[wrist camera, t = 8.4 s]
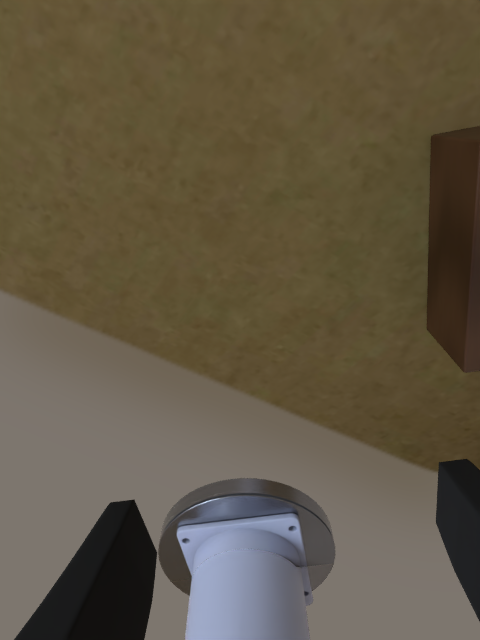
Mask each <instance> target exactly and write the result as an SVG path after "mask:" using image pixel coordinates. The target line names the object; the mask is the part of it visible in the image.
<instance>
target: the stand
mask: <svg viewBox="0 0 480 640" xmlns="http://www.w3.org/2000/svg"><path fill="white" fill-rule="evenodd" d="M427 330H428V331H429V332H430V334H431V335H432V336H433V337H434V338H435V339H436V341H437V342H438V343H439V344H440V345H441V346H442V347H443V349H444V350H445V351H446V352H447V353H448V354H449V356H450V357H451V358H452V359H453V360H454V361H455V363H456V364H457V365H458V366H459V367H460V368H461V370H462V371H463V372H466V373H467V372H474V371H480V126H477V127H472V128H466V129H461V130H456V131H451V132H445V133H440V134H435V135H433V136H432V137H431V164H430V209H429V254H428V299H427Z"/></svg>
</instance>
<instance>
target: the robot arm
mask: <svg viewBox="0 0 480 640" xmlns="http://www.w3.org/2000/svg"><path fill="white" fill-rule="evenodd" d="M436 524H437V526H438V528H439V532H440V534H441V537H442V540H443V542H444V545H445V548H446V550H447V553H448V555H449V558H450V560H451V563H452V566H453V568H454V571H455V573H456V575H457V577H458V579H459V581H460V583H461V585H462V587H463V589H464V591H465V593H466V595H467V597H468V599H469V601H470V603H471V605H472V607H473V609H474V611H475V613H476V615H477V617H478V619H479V621H480V470H479V469H478V468H477V467H476V466H475V465H474V464H473V463H472V462H470V461H469V460H467V459H463V460H455V461H446V462H439V472H438V491H437V511H436ZM177 538H178V541H179V543H180V546H181V549H182V551H183V554H184V557H185V559H186V562H187V565H188V567H189V570H190V573H191V575H192V581H191V590H190V599H189V608H188V617H187V626H186V635H185V640H310V635H309V627H308V619H307V612H306V606H307V605H310V604H312V603H313V596H312V590H311V585H310V579H309V573H308V567H307V561H306V555H305V550H304V544H303V538H302V532H301V526H300V521H299V517H298V515H296V514H294V513H288V514H279V515H271V516H262V517H254V518H245V519H237V520H228V521H220V522H211V523H203V524H194V525H186V526H181V527H179V528H178V530H177ZM156 557H157V552H156V549H155V547H154V545H153V542H152V540H151V538H150V535H149V533H148V531H147V528H146V526H145V524H144V521H143V519H142V517H141V514H140V512H139V510H138V507H137V505H136V503H135V500H128V501H120V502H111V503H110V504H109V505H108V506H107V508H106V509H105V511H104V512H103V514H102V515H101V517H100V518H99V519H98V521H97V522H96V524H95V525H94V527H93V529H92V530H91V532H90V533H89V535H88V536H87V538H86V539H85V541H84V542H83V544H82V545H81V547H80V548H79V550H78V551H77V553H76V554H75V556H74V557H73V558H72V560H71V561H70V563H69V564H68V566H67V567H66V569H65V570H64V572H63V573H62V574H61V576H60V577H59V579H58V580H57V582H56V583H55V584H54V586H53V587H52V589H51V590H50V592H49V593H48V594H47V596H46V597H45V599H44V600H43V602H42V603H41V604H40V606H39V607H38V608H37V610H36V611H35V612H34V614H33V615H32V616H31V618H30V619H29V621H28V622H27V623H26V624H25V626H24V627H23V628H22V630H21V631H20V633H19V634H18V635H17V636H16V638H15V639H14V640H144V638H145V633H146V628H147V623H148V619H149V614H150V609H151V604H152V597H153V588H154V580H155V568H156Z"/></svg>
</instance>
